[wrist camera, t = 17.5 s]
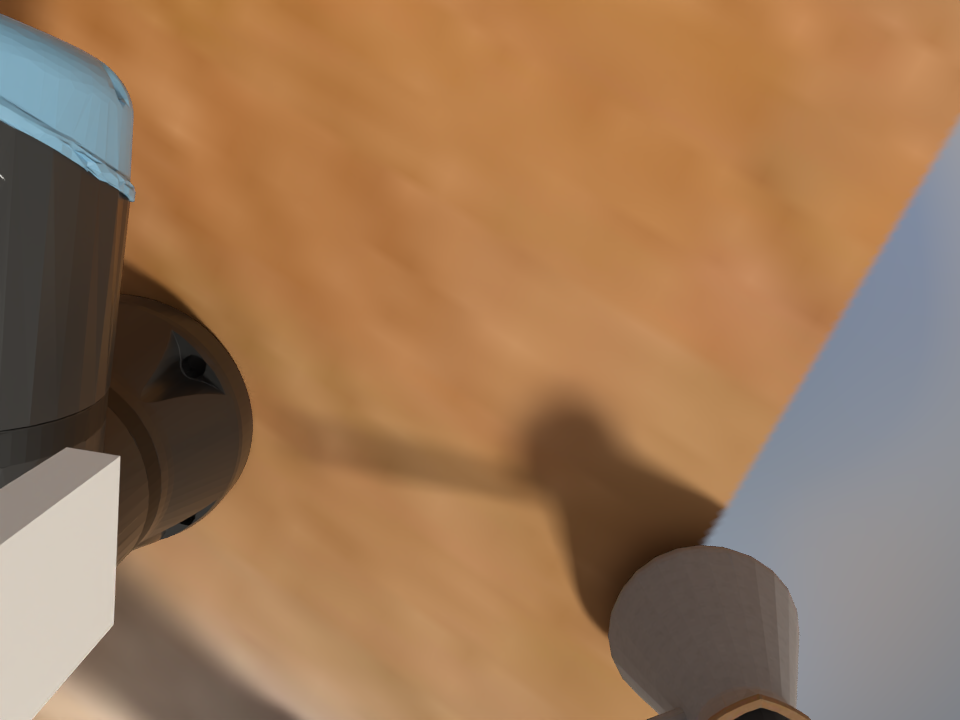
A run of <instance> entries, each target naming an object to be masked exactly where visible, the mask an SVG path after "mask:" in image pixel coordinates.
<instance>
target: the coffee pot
mask: <svg viewBox="0 0 960 720" xmlns="http://www.w3.org/2000/svg"><path fill="white" fill-rule="evenodd" d="M608 638H609V644H610V650H611V656H612V658H613V660H614V662H615V664H616V666H617V668H618V670H619V672H620V674H621V676H622V678H623V679H624V680H625V681H626V682H627V684H628V685H629V686H630V687H631V688H632V689H633V690H634V691H635V692H636V693H637V694H638V695H639V696H640V697H641V698H642V699H643V700H644V701H645V702H646V703H647V704H649V705H650V706H651V707H652V708H653V709H654V710H655V711H656V712H657V713H658V714H659V715H657V716H655V717H652V718H649V719H647V720H811V719H810V718H809V717H808V716H806V715H805V714H803V713H802V712H800V711H799V710H797V709H796V699H797V675H798V649H799V626H798V615H797V609H796V607H795V605H794V602H793V600H792V597H791V595H790V593H789V591H788V588H787V587H786V586H785V585H784V584H783V582H782V581H781V580H780V579H779V578H778V576H777V575H776V574H775V573H774V572H773V571H772V570H771V569H769V568H767V567H766V566H765V565H763V564H762V563H760V562H759V561H757V560H756V559H754V558H753V557H751V556H749V555H746V554H742V553H739V552H737V551H734V550H731V549H728V548H724V547H716V546H704V545H697V546H691V547H684V548H678V549H675V550H672V551H670V552H667V553H665V554H662V555H660V556H657V557H655V558H654V559H652V560H651V561H649V562H648V563H647V564H645V565H644V566H642V567H641V568H640V569H638V570H637V571H636V572H635V573H634V575H633V576H632V577H631V578H630V579H629V581H628V582H627V583H626V584H625V585H624V587H623V588H622V590H621V592H620V594H619V596H618V598H617V601H616V603H615V605H614V607H613V609H612V612H611V618H610V625H609V633H608Z"/></svg>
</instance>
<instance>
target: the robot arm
mask: <svg viewBox="0 0 960 720" xmlns="http://www.w3.org/2000/svg"><path fill="white" fill-rule="evenodd" d="M132 137H133V106H132V102H131V98H130V96H129V93H128V91H127V89H126V87H125V86H124V84H123V83H122V81H121V80H120V79H119V78H118V76H117V75H116V74H115V73H114V72H113V71H112V70H111V69H110V68H109V67H108V66H107V65H105V64H104V63H103V62H101V61H100V60H98V59H97V58H95V57H94V56H92V55H90V54H89V53H87V52H85V51H83V50H81V49H79V48H77V47H75V46H73V45H71V44H69V43H67V42H65V41H63V40H61V39H59V38H56V37H54V36H52V35H50V34H47V33H45V32H43V31H40V30H38V29H36V28H33V27H31V26H29V25H27V24H24V23H22V22H20V21H17V20H15V19H13V18H10V17H8V16H5V15H3V14H0V720H32V719H33V718H34V717H35V715H36V714H37V713H38V712H39V711H40V710H41V709H42V707H43V706H44V705H45V704H46V703H47V702H48V700H49V699H50V698H51V697H52V696H53V695H54V693H55V692H56V691H57V690H58V689H59V688H60V686H61V685H62V684H63V683H64V682H65V681H66V679H67V678H68V677H69V676H70V675H71V674H72V673H73V671H74V670H75V669H76V668H77V667H78V666H79V664H80V663H81V662H82V661H83V660H84V659H85V657H86V656H87V655H88V654H89V653H90V652H91V650H92V649H93V648H94V647H95V646H96V645H97V643H98V642H99V641H100V640H101V639H102V638H103V637H104V635H105V634H106V633H107V632H108V631H109V630H110V628H111V627H112V626H113V625H114V607H115V581H116V566H117V565H118V564H119V563H120V562H121V561H122V560H123V559H124V558H125V557H126V556H127V555H128V554H129V553H130V552H131V551H132V550H134V549H137V548H140V547H143V546H145V545H148V544H151V543H154V542H156V541H159V540H161V539H164V538H167V537H170V536H172V535H175V534H177V533H180V532H182V531H184V530H186V529H188V528H189V527H191V526H193V525H194V524H196V523H197V522H198V521H200V520H201V519H203V518H204V517H205V516H206V515H208V514H209V513H210V512H211V511H212V510H213V509H214V508H215V507H216V506H217V505H218V504H219V502H220V501H221V500H222V499H223V498H224V497H225V495H226V494H227V493H228V492H229V491H230V490H231V489H232V487H233V486H234V484H235V483H236V482H237V480H238V478H239V477H240V475H241V473H242V471H243V469H244V467H245V464H246V462H247V459H248V455H249V452H250V447H251V442H252V432H253V420H252V409H251V404H250V399H249V396H248V392H247V389H246V386H245V383H244V381H243V379H242V376H241V374H240V372H239V370H238V368H237V366H236V365H235V363H234V361H233V360H232V358H231V357H230V355H229V354H228V353H227V351H226V350H225V349H224V347H223V346H222V345H221V344H220V343H219V341H218V340H217V339H216V338H215V337H214V336H213V335H212V334H211V333H210V332H209V331H207V330H206V329H205V328H204V327H203V326H202V325H200V324H199V323H198V322H196V321H195V320H193V319H192V318H191V317H189V316H187V315H186V314H184V313H182V312H181V311H179V310H177V309H175V308H173V307H171V306H168V305H166V304H163V303H161V302H158V301H155V300H151V299H148V298H144V297H139V296H132V295H122V294H120V289H121V280H122V271H123V261H124V252H125V243H126V234H127V224H128V215H129V206H130V202H134V201H135V194H136V192H135V189H134V186H133V185H132V184H131V183H130V177H131V157H132Z"/></svg>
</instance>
